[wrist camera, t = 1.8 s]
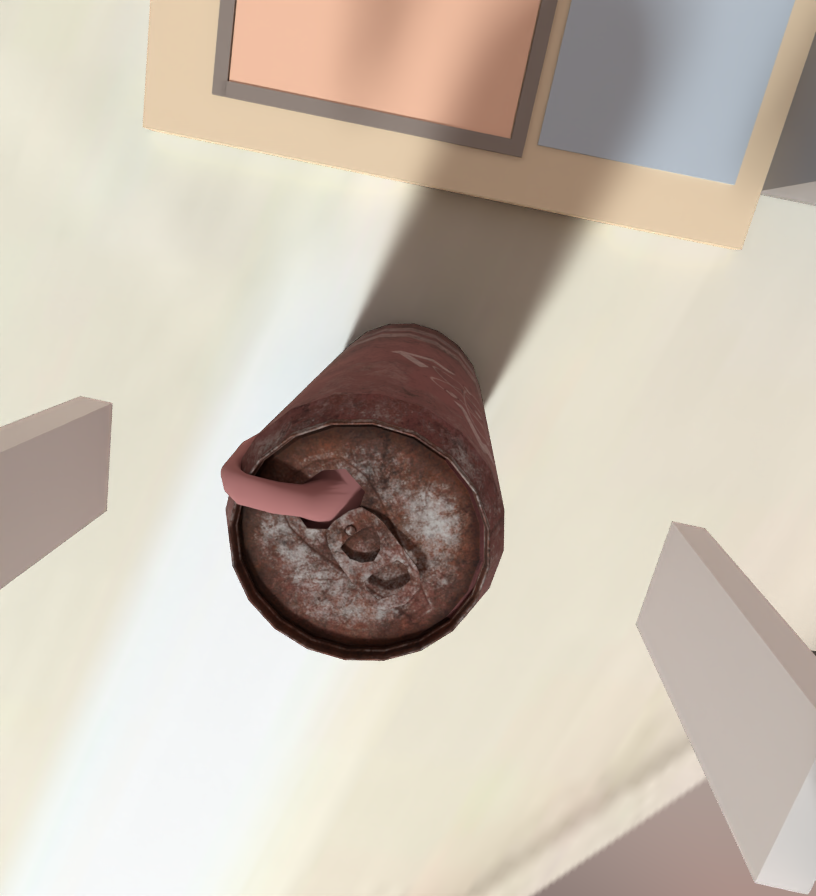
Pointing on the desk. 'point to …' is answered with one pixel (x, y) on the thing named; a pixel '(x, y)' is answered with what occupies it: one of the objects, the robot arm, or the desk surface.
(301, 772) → the desk surface
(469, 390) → the can
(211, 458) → the desk surface
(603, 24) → the board
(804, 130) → the button housing
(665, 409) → the desk surface
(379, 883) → the desk surface
